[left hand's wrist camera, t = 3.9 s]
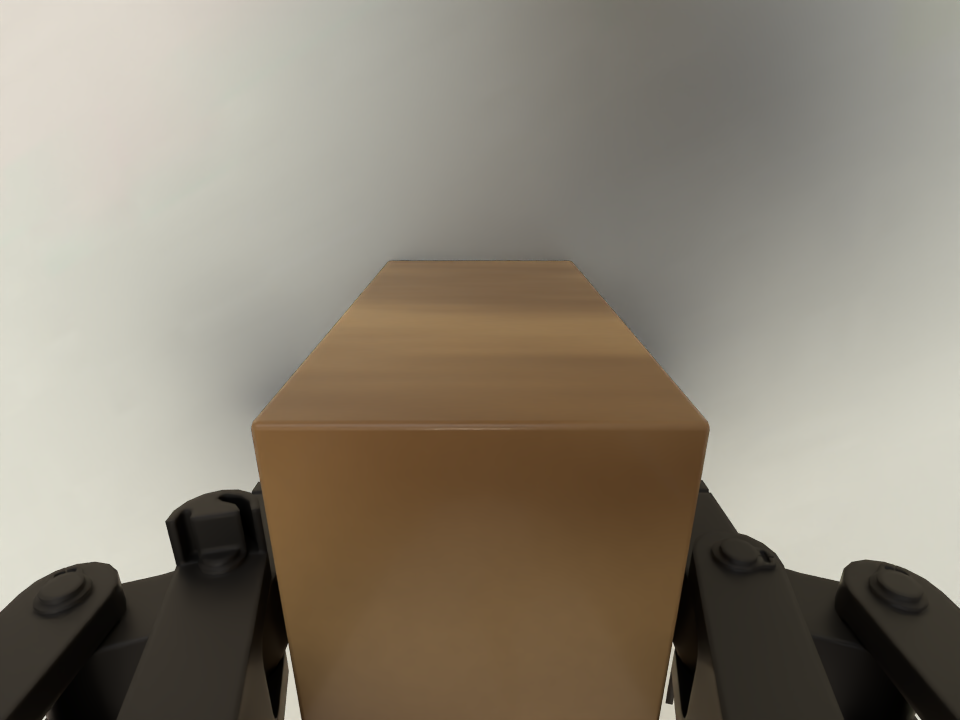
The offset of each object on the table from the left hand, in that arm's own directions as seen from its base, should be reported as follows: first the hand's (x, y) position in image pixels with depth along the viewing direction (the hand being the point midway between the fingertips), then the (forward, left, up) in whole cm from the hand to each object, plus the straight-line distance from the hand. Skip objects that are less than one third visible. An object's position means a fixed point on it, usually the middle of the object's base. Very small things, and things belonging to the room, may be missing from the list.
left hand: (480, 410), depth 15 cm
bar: (+6, +4, -1) cm, 8 cm away
